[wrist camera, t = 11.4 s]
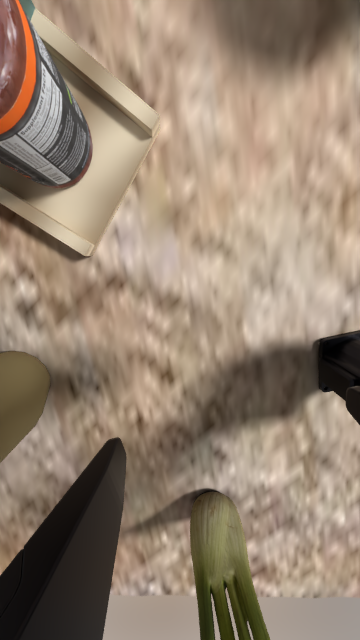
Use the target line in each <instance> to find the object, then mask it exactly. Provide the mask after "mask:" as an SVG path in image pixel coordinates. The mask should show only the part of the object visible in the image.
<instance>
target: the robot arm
mask: <svg viewBox="0 0 360 640" xmlns="http://www.w3.org/2000/svg"><path fill="white" fill-rule="evenodd" d="M325 343H326V344H325ZM319 389H320V390H321V391H323V392H330V391H334V392H335V393H336V394H338V395H339V396H340V397H341V398H343V399H344V400H345V401H346V408H347V410H348V411H349V413H350V414H351V415H352V416H353V418H354V419H355V420H356V421H357V422H358V424H359V425H360V331H357V332H352V333H348V334H343V335H338V336H333V337H329V338H324V339H322V340H321V341H320V353H319ZM125 473H126V452H125V449H124V447H123V444H122V441H121V439H120V438H119V437H117V438H112V439H109V440H108V441H107V442H106V443H105V445H104V446H103V447H102V448H101V450H100V451H99V452H98V453H97V455H96V456H95V457H94V458H93V460H92V461H91V462H90V463H89V465H88V466H87V467H86V469H85V470H84V471H83V472H82V474H81V475H80V476H79V477H78V479H77V480H76V481H75V482H74V484H73V485H72V486H71V487H70V489H69V490H68V491H67V493H66V494H65V495H64V496H63V498H62V499H61V500H60V501H59V503H58V504H57V505H56V506H55V508H54V509H53V510H52V511H51V513H50V514H49V515H48V516H47V518H46V519H45V520H44V522H43V523H42V524H41V525H40V527H39V528H38V529H37V530H36V532H35V533H34V534H33V535H32V537H31V538H30V539H29V540H28V542H27V543H26V544H25V546H24V549H22V550H20V552H19V553H18V554H17V555H16V557H15V558H14V559H13V561H12V562H11V563H10V564H9V566H8V567H7V568H6V569H5V571H4V572H3V573H2V574H1V575H0V640H102V639H103V632H104V626H105V619H106V613H107V607H108V600H109V594H110V588H111V582H112V575H113V569H114V563H115V556H116V550H117V544H118V537H119V531H120V525H121V518H122V511H123V502H124V488H125Z"/></svg>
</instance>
